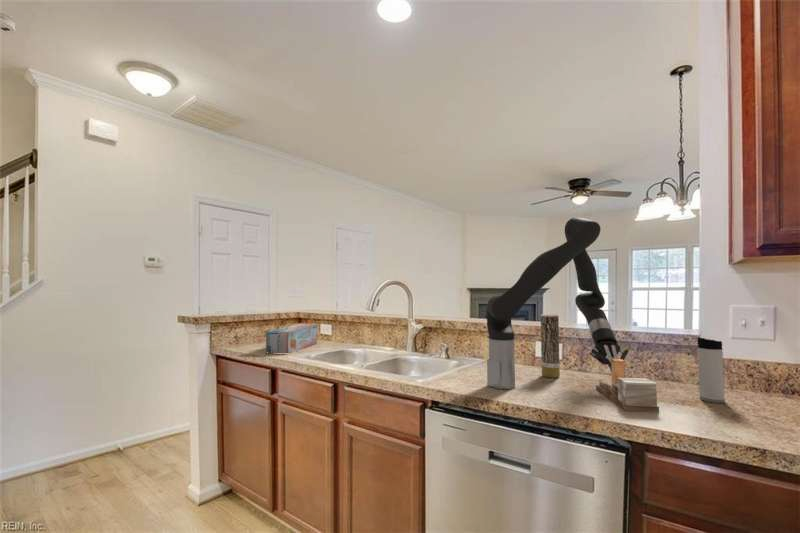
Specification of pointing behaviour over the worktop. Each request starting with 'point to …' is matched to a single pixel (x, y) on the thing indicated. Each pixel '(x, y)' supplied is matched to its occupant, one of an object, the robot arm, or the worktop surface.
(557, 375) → the bark textured post
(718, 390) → the travel mug
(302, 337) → the soda box
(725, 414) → the worktop surface
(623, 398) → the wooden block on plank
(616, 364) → the orange flat block
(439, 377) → the worktop surface
